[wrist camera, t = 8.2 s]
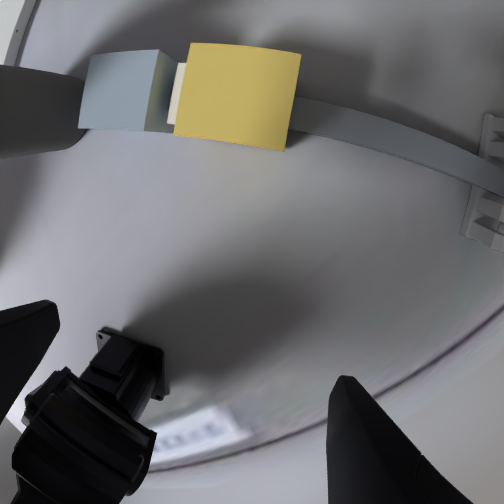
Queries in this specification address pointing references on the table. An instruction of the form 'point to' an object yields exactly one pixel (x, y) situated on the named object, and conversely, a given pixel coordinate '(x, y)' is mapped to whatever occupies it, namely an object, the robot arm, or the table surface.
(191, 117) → the pale yellow cube
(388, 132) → the grey long bar
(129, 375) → the robot arm
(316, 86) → the table surface
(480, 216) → the grey boxy piece
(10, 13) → the mounting plate
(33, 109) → the bottle
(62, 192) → the table surface
